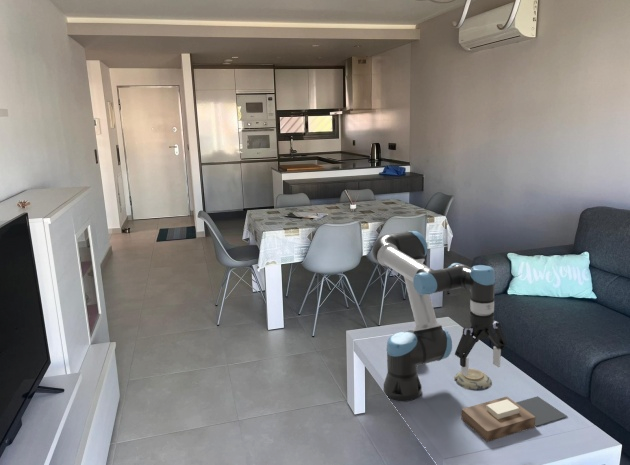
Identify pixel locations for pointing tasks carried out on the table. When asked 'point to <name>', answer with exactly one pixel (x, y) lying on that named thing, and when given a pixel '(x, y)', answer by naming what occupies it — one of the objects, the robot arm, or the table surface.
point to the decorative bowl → (473, 380)
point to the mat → (541, 410)
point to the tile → (502, 409)
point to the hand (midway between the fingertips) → (480, 370)
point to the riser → (496, 421)
